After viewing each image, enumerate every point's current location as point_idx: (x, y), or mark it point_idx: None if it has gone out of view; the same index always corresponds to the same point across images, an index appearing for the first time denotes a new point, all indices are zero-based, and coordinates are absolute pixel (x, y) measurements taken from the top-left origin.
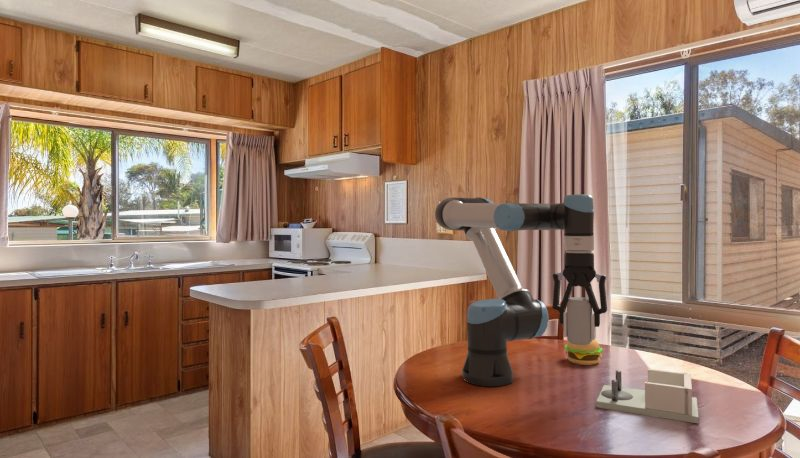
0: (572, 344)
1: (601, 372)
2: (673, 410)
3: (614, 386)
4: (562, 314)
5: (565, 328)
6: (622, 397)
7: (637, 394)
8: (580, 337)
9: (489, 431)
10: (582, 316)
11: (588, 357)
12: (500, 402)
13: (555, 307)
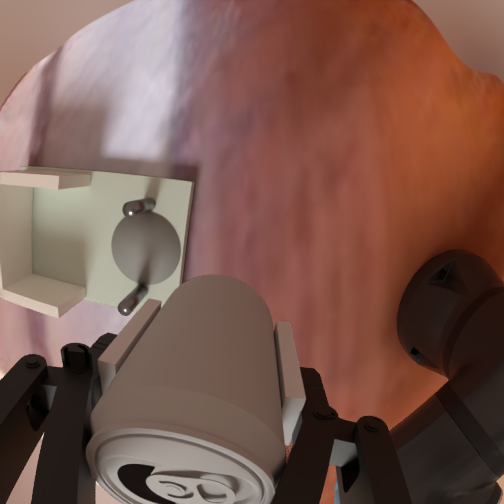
0: None
1: None
2: (46, 171)
3: (135, 200)
4: (310, 401)
5: (284, 342)
6: (132, 231)
7: (103, 268)
8: (206, 282)
9: (397, 4)
10: (166, 335)
11: None
12: (416, 150)
13: (368, 422)
